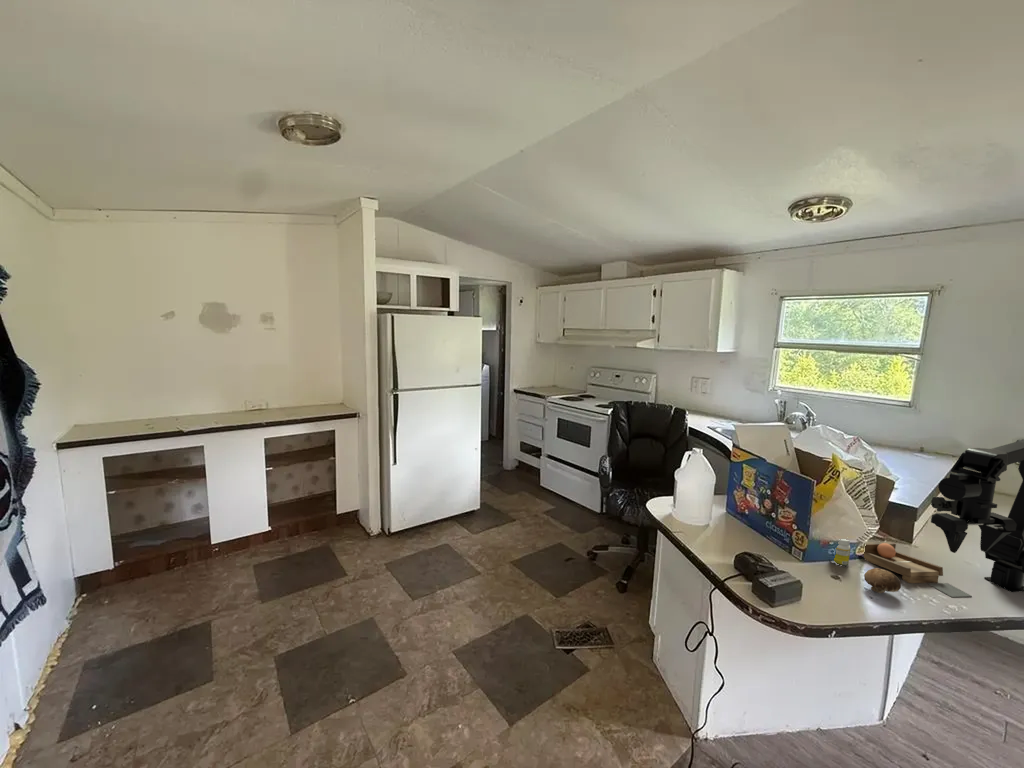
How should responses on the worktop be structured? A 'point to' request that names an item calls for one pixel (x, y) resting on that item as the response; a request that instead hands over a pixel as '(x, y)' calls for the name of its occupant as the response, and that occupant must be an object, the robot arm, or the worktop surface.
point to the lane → (904, 565)
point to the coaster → (949, 590)
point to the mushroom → (882, 580)
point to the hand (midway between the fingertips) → (968, 551)
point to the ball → (886, 550)
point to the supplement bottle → (842, 552)
